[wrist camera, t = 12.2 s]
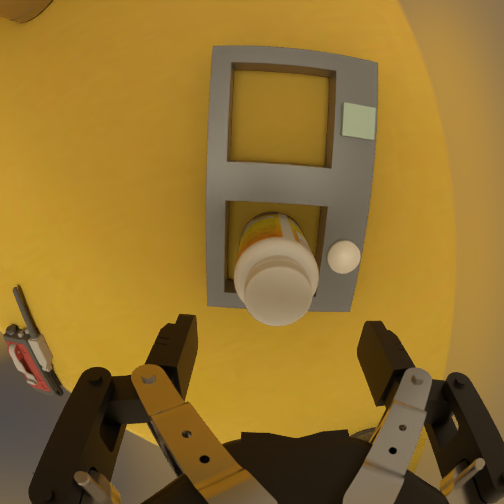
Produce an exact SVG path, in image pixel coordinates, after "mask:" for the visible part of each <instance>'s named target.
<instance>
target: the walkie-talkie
mask: <svg viewBox="0 0 504 504" xmlns="http://www.w3.org/2000/svg"><path fill="white" fill-rule="evenodd" d="M13 293H14V296H15V298H16V301H17V303H18V306H19V309H20V311H21V313H22V316H23V318H24V321H25V323H26V325H27V327H28V328H26V330H22V329H17V327H16V326H15V325H11V326H9V327H7V329H6V333H5V334H4V335H3V336H4V339H5V341H6V343H7V345H8V352H9V354H10V356H11V358H12V359H13V360H14V361H13V362H14V364H15V366H16V367H17V369H18V370H19V371H21V372H23V374H24V375H25V377H26V379H27V383H29V384H30V385H31V387H32V388H33V389H34V391H36V392H39V393H43V394H46V395H49V396H53V395H54V394H55V393H57V395H59V396H62V395H63V390H62V389H61V387H60V385H61V384H60V383H59V381H58V379H57V377H56V376H55V374H54V372H53V370H52V368H53V367H52V365H51V364H52V354H51V352H50V350H49V348H48V346H47V344H46V342H45V338H44V336H43V335H41V334H38V333H37V330H36V328H34V326H33V323H32V321H31V319H30V316H29V314H28V312H27V309H26V307H25V305H23V302H22V299H21V297H20V294H19V291H18V289H17V287H14V289H13Z"/></svg>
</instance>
